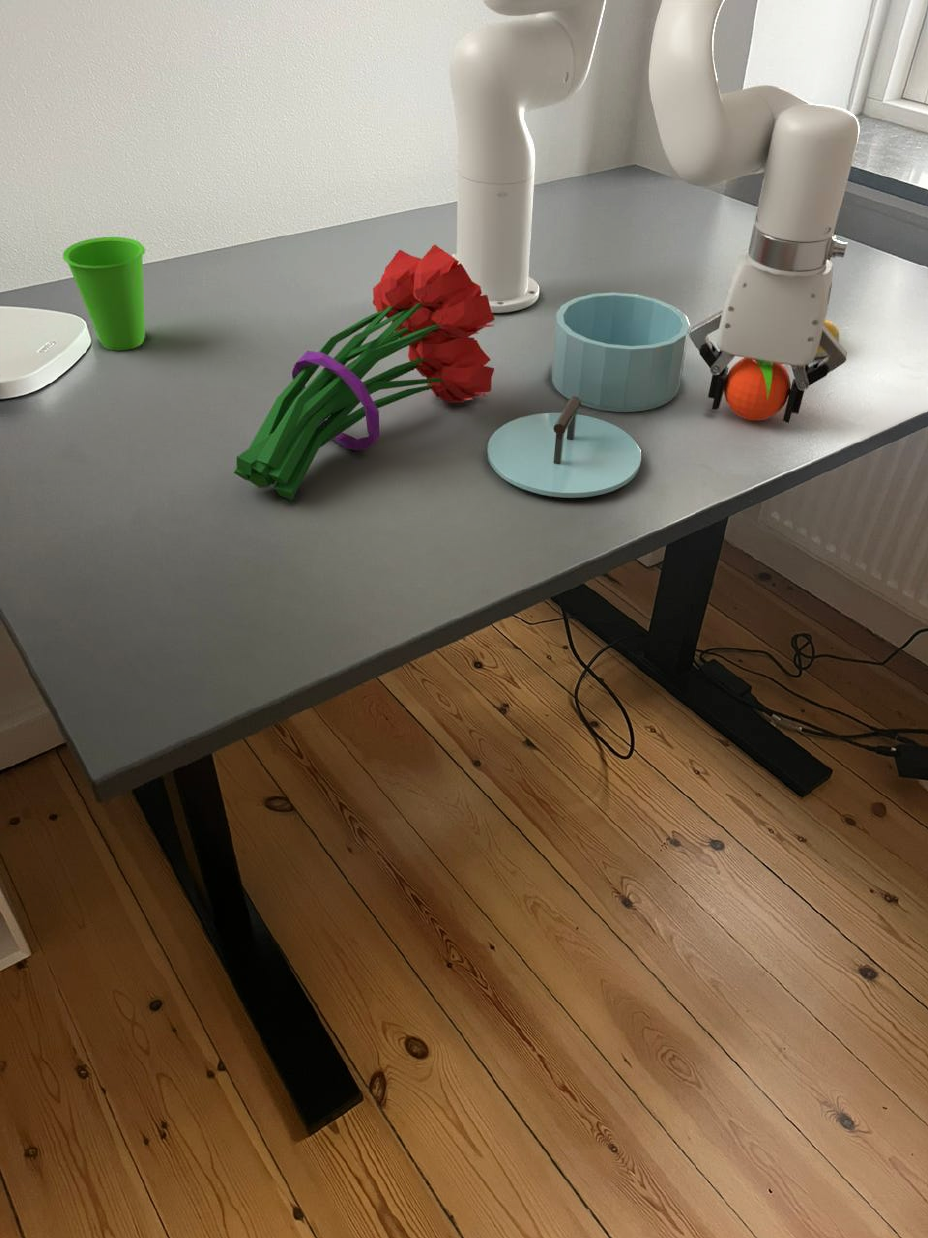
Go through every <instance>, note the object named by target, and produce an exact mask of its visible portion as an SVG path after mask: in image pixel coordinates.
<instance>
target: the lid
mask: <svg viewBox="0 0 928 1238" xmlns="http://www.w3.org/2000/svg"><path fill="white" fill-rule="evenodd" d="M580 404H581V401H580V399H579V398H578V397H576V396H573V397H571V398H570V399H568V401H567V403H566V405H565V406H564V408H563V410H562V411H561V412H543V413H535V414H529V415H525V416H521V417H518V418H516V419H513V420H510V421H509V422H507V423H504V424H503V425H502V426H500V427H499V428H498V429H496V430H495V431H494V432H493V434H491V436H490V438H489V440H488V443H487V445H486V447H487V448H486V449H487V450H486V457H487V461H488V463H489V464H490V467H491V468H492V469H493V471H494V472H495V473H496V474H497V475H498V476H499V477H500V478H502V479H503V480H504V481H506V482H507V483H509V484H511V485H513V486H515V487H517V488H519V489H521V490H523V491H528V492H530V493H534V494H536V495H541V496H547V497H552V498H553V497H554V498H566V499H567V498H568V499H578V498H589V497H597V496H600V495H601V496H602V495H605V494H609V493H611V492H614V491H616V490H619V489H620V488H622V487H624V486H626V485H628V484H629V483H630V482H631V481H633V479H634V478H635V477H636V476H637V474H638V472H639V471H640V468H641V465H642V452H641V448H640V447H639V445H638V443H637V442H636V441H635V439H634V438H633V437H632V436H631V435H630V434H629V433H628V432H627V431H625V430H623V429H622V428H620V427H619V426H617V425H614V424H612V423H610V422H609V421H605V420H603V419H600V418H596V417H593V416H589V415H584V414H578V409H579V408H580V406H581V405H580Z"/></svg>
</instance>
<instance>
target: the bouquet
mask: <svg viewBox="0 0 928 1238" xmlns="http://www.w3.org/2000/svg"><path fill="white" fill-rule="evenodd" d="M458 263H459V261H458V260H456V259H455V258H454V257H452V254H449V253H448V252H446V251H445V250H444V249H442V248H441V247H439V246H438V245H437V244H435V243H433V245H432V246H431V248H430V249H429V250H428V251H427V253H426V254H425V255H424V256H423V257H422V258H420V257H417V256H413V255H412V254H409V253H407V252H405V251H404V250H402V249H398V251H397V252H396V253H395V254H394V256H393V258H392V259H391V260H390V261H389V263H388V264H387V265H386V266H385V267H384V270H383V271H384V272H383V274H382V275H381V278H380V281H379V282H378V283H376V285H375V286H374V287H372V294H373V300H372V304H373V306H374V307H375V309H376V312H375V313H373V314H370V315H369V316H366V317H364V318H363V319H361V320H358V321H357V322H356V323H354V324H352V325H350V326H348V327H347V328H345V329H344V330H342V331H339V332H338V333H336V334H334V335H333V336H331V337H330V338H329V340H328V341H326V343H325V344H324V345H323V346H322V347H321V348H320V349H319V351H313V350H306V351H305V352H304V353H303V355H301V357H300V358H299V359H298V360H297V361H296V362H295V363H294V364H293V366H292V371H291V377H292V381H290V383H289V384H288V385H287V386H286V387H285V388H284V389H283V391H282V392H281V393H280V394H279V395H278V396H277V397H276V400H275V401H274V403H273V404H272V406H271V408H270V410H269V412H268V414H267V415H266V417H265V419H264V421H263V422H262V424H261V425H260V428H259V429H258V431H257V433H256V434H255V436H254V438H253V440H252V442H251V443H250V446H249V447H248V449H245V450H244V451H243V452H241V453H240V454H238V455H237V456H236V468H235V470H234V471H233V473H234V474H235V475H237V476H238V477H240V478H242V479H243V480H245V481H248V482H250V483H252V484H253V485H255V486H256V487H258V488H260V489H262V488H269V487H270V486H271V485H272V486H273V489H274V490H275V491H276V493H277V494H278V495H279V496H280V497H283V498H284V499H287V500H290V501H292V500H293V499H294V497H295V495H296V493H297V491H298V490H299V487H300V485H301V483H302V481H303V480H304V479H305V477H306V473H307V472H308V471H309V468H310V467H311V464H312V463H313V460H314V459H315V457H316V456H317V453H318V451H319V449H320V448H322V447H323V446H325V445H326V444H327V443H329V442H330V441H332V440H333V441H335V442H336V443H338V444H340V445H341V446H343V447H344V448H346V449H349V450H354V451H355V450H356V451H361V450H366V449H369V448H371V447H372V446H373V445H374V444H375V443H376V442H377V440H378V439H379V437H380V435H381V434H380V433H381V432H380V411H379V409H380V408H383V407H385V406H388V405H390V404H393V403H395V402H399V401H400V400H403V399H405V398H407V397H411V396H413V395H415V394H418V393H421V392H425V391H429V390H431V392H432V393H433V394H434V396H435V397H436V399H441V400H442V401H444V402H445V403H463V402H465V401H471V400H474V399H473V398H476V397H479V396H481V397H487V398H488V395H486V394H485V393H491V391H492V378H493V375H494V372H495V368H494V367H491V366H486V365H487V364H488V363H489V362H491V358H490V357H489V356H488V355H487V353H486V352H485V351H484V350H483V349H482V347H481V346H480V344H479V341H478V340H476V339H475V337H471V336H472V335H477V334H480V332H479V331H481V330H482V329H484V328H490V327H495V325H494V324H490V323H492V322H494V321H495V317H494V313H492V312H491V308H490V304H489V300H488V296H487V295H482V296H480V295H481V294H482V291H481V289H480V288H481V286H479V285H477V284H476V283H474V282H472V281H471V279H470V277H469V275H468V274H467V272H466V270H465V269H464V267H463V266H462V264H458ZM457 264H458V265H457ZM384 318H386V319H384ZM383 319H384V320H383ZM390 323H391V324H390ZM388 324H390V325H388ZM387 325H388V327H386V328H385V329H384V330H383V332H381V333H380V334H379V335H378V336H377V337H376V338H375V339H373V340H370V341H368V342H366V343H365V341H366V340H367V338H368V337H369V336H370V335H372V334H373V333H375V332H377V330H380V329H382V328H383V327H385V326H387ZM363 328H364V329H363ZM361 329H363V330H362V331H361V332H359V333H357V332H358V331H360V330H361ZM355 333H357V334H355ZM353 334H355V335H354V336H353V337H351V339H350V340H348V342H347V343H346V344H345V345H344V346H343V347H342V348H341V349H340V350H339V351H338V352H337V354H336V355H335V356H333V357H331V356H330V355H329V354H330V353H331V352H332V351H333V349H334V348H335V347H336V345H337V344H338V343H340V342H342V341H344V340H345V339H347V338H348V337H349V336H351V335H353ZM363 343H364V344H363ZM407 347H408V352H407V354H408V355H407V357H408V360H409V361H407V362H405V363H402V364H399V365H396V366H394V367H392V368H389V369H387V370H385V371H383V372H381V373H378V374H377V375H375V376H373V377H371V378H368V379H367V380H365V381H362V379H363V378H364V377H365V376H366V375H367V374H368V373H369V372H370V371H371V369H372V368H374V367H375V365H376V364H377V363H378V362H379V361H382V360H384V359H385V358H388V357H389V356H391V355H392V354H395V353H397V352H399V351H400V350H402V349H404V348H407ZM355 358H356V359H355ZM353 359H354V360H353ZM352 360H353V361H352ZM350 361H351V362H350ZM348 362H350V363H348ZM347 363H348V364H347ZM320 367H324V368H322V370H321V371H320V372H319V373H318V374H317V375H316V376H315V377H314V378H313V379H312V380H311V381H310V379H311V378H312V377H313V376H314V374H315V373H316V372H317V370H318V369H319V368H320ZM415 369H416V371H417V372H418V373H419V374H420V375H421V376H422V377H424V378H421V379H419V378H418V379H406V380H405V379H404V380H395V379H398V378H399V377H402V376H403V375H406V374H408V373H409V372H414V371H415ZM309 381H310V382H309ZM424 384H426V385H424ZM416 385H423V386H416ZM409 386H416V387H411V388H407V389H403V390H401V391H398V392H395V393H392V394H389V395H387V396H385V397H381V398H379V399H376V400H373V397H372V396H371V395H372V394H375V393H377V392H378V391H380V390H387V389H394V388H402V387H409ZM360 403H361V405H362V406H361V407H359V408H358V409H356V410H355V408H356V407H357V406H358V405H359V404H360ZM354 410H355V411H354ZM363 418H365V421H366V426H367V435H368V436H364V437H360V438H356V437H354V436H352V435H349V434H347V433H345V431H347V430H348V429H349V428H351V427H352V426H354V425H355V424H357V423H358V422H359V421H361V420H362V419H363Z"/></svg>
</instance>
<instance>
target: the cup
mask: <svg viewBox="0 0 928 1238" xmlns="http://www.w3.org/2000/svg"><path fill="white" fill-rule="evenodd" d="M145 253H146V248H145V247H144V244H142V243H141V242H140V241H138V240H135V239H133V238H129V237H120V236H102V237H101V236H100V237H94V238H90V239H84V240H82V241H78V242H76V243H73V244H71V245H70V246H68V247H66V248H65V249H64V250H63V253H62V259H63V261H64V262H65V263H66V264H68V267H69V270H70V272H71V274H72V277H73V279H74V282H75V283H76V286H77V289H78V291H79V294H80V296H81V299H82V301H83V304H84V306H85V308H86V311H87V313H88V315H89V316H88V317H89V318H90V320H91V323H92V325H93V327H94V328H93V329H94V331H95V333H96V335H97V337H98V340H99V343H100V344H102V346H103V347H104V348H105V349H108V350H109V351H110V350H111V351H128V350H133V349H134V348H138V347H140V346H141V345H143V343H144V341H145V337H146V328H145V324H146V323H145V297H144V296H145V295H144V293H145V292H144V267H143V266H144V264H143V263H144V262H143V256H144V254H145Z"/></svg>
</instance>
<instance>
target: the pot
mask: <svg viewBox="0 0 928 1238" xmlns="http://www.w3.org/2000/svg"><path fill="white" fill-rule="evenodd" d="M554 322H555V323H554V332H553V343H552V345H553V346H552V357H551V370H550V371H551V382H552V385H553V387H554V388H555V390H556V391H557V392H558V393H559V394H560V395H562V396H563V397H564V398H566V399H567V400H569V399H570V398H571V397H573V396H576V397H578V398H579V399H580V401H581V404H580V406H582V407H587V408H590V409H594V410H599V411H604V412H612V413H635V412H636V413H637V412H644V411H649V410H653V409H657V408H659V407H662V406H664V405H666V404H669V402H671V401H673V400H674V398H675V397H676V395H677V394H678V392H679V387H680V385H681V381H682V375H683V369H684V364H685V359H686V351H687V346H688V341H689V333H690V331H691V324H690V322H689V319H688V317H687V315H686V314H685V313H684V312H683V311H681V310H680V309H678V308H677V307H676V306H674V305H673V304H670V303H667V302H665V301H663V300H660V299H658V298H653V297H651V296H650V297H649V296H645V295H641V294H635V293H624V292H623V293H622V292H602V293H601V292H600V293H599V292H598V293H591V294H587V295H583V296H578V297H574V298H573V299H571V300H568V301H567V302H565V303H563V304H562V305H561V306H560V307H559V309H558V310H557V312H556V313H555V321H554Z"/></svg>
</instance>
